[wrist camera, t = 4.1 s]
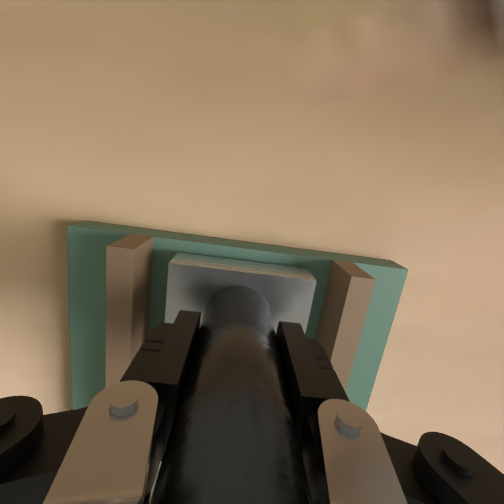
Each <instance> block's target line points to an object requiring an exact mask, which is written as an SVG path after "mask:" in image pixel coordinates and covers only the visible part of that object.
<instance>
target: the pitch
mask: <svg viewBox="0 0 504 504" xmlns="http://www.w3.org/2000/svg"><path fill="white" fill-rule="evenodd" d="M67 250H68V282H69V315H70V347H71V380H72V410H76V409H80V408H83V407H87V406H89V404H90V402H91V400H92V399H93V398H94V397H95V396H96V395H97V394H98V393H99V392H100V391H102V390H103V389H105V388H106V387H108V386H110V385H113V384H115V383H119V382H120V380H121V378H122V377H123V375H124V373H125V372H126V370H127V368H128V367H129V365H130V363H131V362H132V360H133V358H134V357H135V355H136V354H137V352H138V350H140V347H141V345H142V344H143V342H145V339H146V337H147V335H148V334H149V332H150V330H151V329H153V328H154V327H156V326H157V325H159V324H160V323H162V322H164V323H165V310H166V295H167V280H168V265H169V262H170V261H171V260H172V258H173V257H174V256H175V255H176V254H177V253H178V252H179V253H187V254H195V255H203V256H211V257H219V258H227V259H235V260H243V261H251V262H259V263H267V264H275V265H282V266H290V267H298V268H306V269H308V270H309V271H310V273H311V274H312V275H313V277H314V278H315V279H316V281H317V282H316V287H315V291H314V296H313V301H312V305H311V310H310V315H309V319H308V324H307V329H306V333H305V336H306V338H312V339H315V340H316V341H317V342H318V343H319V344H320V345H321V346H322V347H323V348H324V350H325V352H326V354H327V356H328V358H329V361H330V362H331V364H332V366H333V370H335V372H336V374H337V376H338V378H339V380H340V382H341V384H342V386H343V388H344V391H345V393H346V395H347V397H348V399H349V401H350V402H351V403H353V404H355V405H357V406H359V407H360V408H362V409H363V410H364V411H366V408H367V405H368V402H369V398H370V395H371V392H372V388H373V385H374V382H375V378H376V375H377V372H378V368H379V365H380V362H381V359H382V355H383V352H384V349H385V345H386V342H387V339H388V335H389V332H390V329H391V325H392V322H393V319H394V316H395V312H396V309H397V306H398V302H399V299H400V296H401V292H402V289H403V286H404V282H405V279H406V276H407V273H408V269H406V268H404V267H402V266H401V265H399V264H397V263H395V262H393V261H390V260H382V259H374V258H367V257H359V256H351V255H344V254H336V253H328V252H321V251H313V250H306V249H298V248H290V247H283V246H275V245H267V244H260V243H252V242H244V241H237V240H229V239H221V238H214V237H206V236H198V235H191V234H183V233H175V232H168V231H160V230H152V229H145V228H137V227H130V226H122V225H114V224H107V223H99V222H91V221H83V222H79V223H75V224H71V225H67ZM159 469H160V468H158V472H157V475H156V479H155V482H154V485H153V487H152V494H153V490H154V487H155V483H156V480H157V476H158V473H159ZM151 497H152V496H151Z"/></svg>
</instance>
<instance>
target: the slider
mask: <svg viewBox="0 0 504 504" xmlns="http://www.w3.org/2000/svg"><path fill="white" fill-rule="evenodd" d="M316 282H317V281H316V279H315V278H314V277H313V275H312V274H311V273H310V271H309V270H308V269H306V268H298V267H290V266H282V265H275V264H267V263H259V262H251V261H243V260H235V259H227V258H219V257H211V256H203V255H195V254H187V253H179V252H178V253H177V254H176V255H175V256H174V257H173V258H172V260H171V261H170V262H169V265H168V280H167V295H166V310H165V323H174V321H175V319H176V317H177V315H178V313H179V311H180V310H186V311H195V312H201V320H200V329H199V333H198V336H197V340H196V343H195V347H194V350H193V354H192V357H191V361H190V364H189V368H188V371H187V375H186V378H185V382H184V385H183V389H182V393H181V396H180V400H179V403H178V407H177V410H176V414H175V417H174V420H173V424H172V427H171V431H170V434H169V438H168V441H167V445H166V448H165V452H164V455H163V459H162V462H161V461H160V465H159V468H160V469H159V473H158V476H157V480H156V483H155V487H154V490H153V494H152V497H151V501H150V504H313V502H312V498H311V493H310V488H309V484H308V479H307V475H306V470H305V466H304V461H303V457H302V452H301V447H300V443H299V438H298V434H297V429H296V425H295V420H294V415H293V411H292V406H291V402H290V397H289V393H288V388H287V384H286V379H285V374H284V370H283V365H282V361H281V356H280V352H279V347H278V342H277V338H276V331H277V326H278V323H279V321H285V322H294V323H300V324H301V326H302V329H303V331H304V334H305V333H306V329H307V324H308V319H309V315H310V310H311V305H312V301H313V296H314V291H315V287H316Z"/></svg>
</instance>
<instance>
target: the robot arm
mask: <svg viewBox="0 0 504 504" xmlns="http://www.w3.org/2000/svg"><path fill="white" fill-rule="evenodd" d="M200 320H201V312H195V311H186V310H180V311H179V313H178V315H177V317H176V319H175V321H174V323H164V322H162V323H160V324H159V325H157V326H156V327H154V328H153V329H151V330H150V332H149V334H148V335H147V337H146V339H145V342H143V344H142V345H141V347H140V350H138V352H137V354H136V355H135V357H134V358H133V360H132V362H131V363H130V365H129V367H128V368H127V370H126V372H125V373H124V375H123V377H122V378H121V380H120V382H119V383H115V384H113V385H110V386H108V387H106V388H105V389H103V390H102V391H100V392H99V393H98V394H97V395H96V396H95V397H94V398H93V399H92V400H91V402H90V404H89V406H87V407H83V408H80V409H76V410H70V411H64V412H58V413H53V414H47V415H43V409H42V405H41V404H40V402H39V401H38V400H36V399H34V398H32V397H28V396H11V397H5V398H1V399H0V504H150V501H151V496H152V487H153V485H154V482H155V479H156V475H157V472H158V468H159V465H160V461H161V462H162V459H163V455H164V452H165V448H166V445H167V441H168V438H169V434H170V431H171V427H172V424H173V420H174V417H175V414H176V410H177V407H178V403H179V400H180V396H181V393H182V389H183V385H184V382H185V378H186V375H187V371H188V368H189V364H190V361H191V357H192V354H193V350H194V347H195V343H196V340H197V336H198V333H199V329H200ZM276 338H277V342H278V347H279V352H280V356H281V361H282V365H283V370H284V374H285V379H286V384H287V388H288V393H289V397H290V402H291V406H292V411H293V415H294V420H295V425H296V429H297V434H298V438H299V443H300V447H301V452H302V457H303V461H304V466H305V470H306V475H307V479H308V484H309V488H310V493H311V498H312V502H313V504H504V474H503V473H501V472H500V471H499V470H497V469H496V468H495V467H494V466H492V465H491V464H490V463H489V462H487V461H486V460H485V459H484V458H482V457H481V456H480V455H479V454H477V453H476V452H475V451H474V450H472V449H471V448H470V447H468V446H467V445H465V444H464V443H462V442H461V441H459V440H457V439H455V438H453V437H451V436H448V435H445V434H443V433H438V432H427V433H424V434H423V435H422V436H421V438H420V440H419V442H418V445H417V446H415V445H412V444H410V443H407V442H404V441H401V440H398V439H396V438H393V437H390V436H388V435H385V434H383V433H381V432H380V431H379V428H378V426H377V424H376V423H375V421H374V420H373V418H372V417H371V416H370V415H369V414H368V413H367V412H366V411H364V410H363V409H362V408H360V407H359V406H357V405H355V404H353V403H351V402H350V401H349V399H348V397H347V395H346V393H345V391H344V388H343V386H342V384H341V382H340V380H339V378H338V376H337V374H336V372H335V370H333V366H332V364H331V362H330V361H329V358H328V356H327V354H326V352H325V350H324V348H323V347H322V346H321V345H320V344H319V343H318V342H317V341H316V340H315V339H312V338H306V336H305V334H304V331H303V329H302V326H301V324H300V323H294V322H285V321H279V323H278V326H277V331H276Z"/></svg>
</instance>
